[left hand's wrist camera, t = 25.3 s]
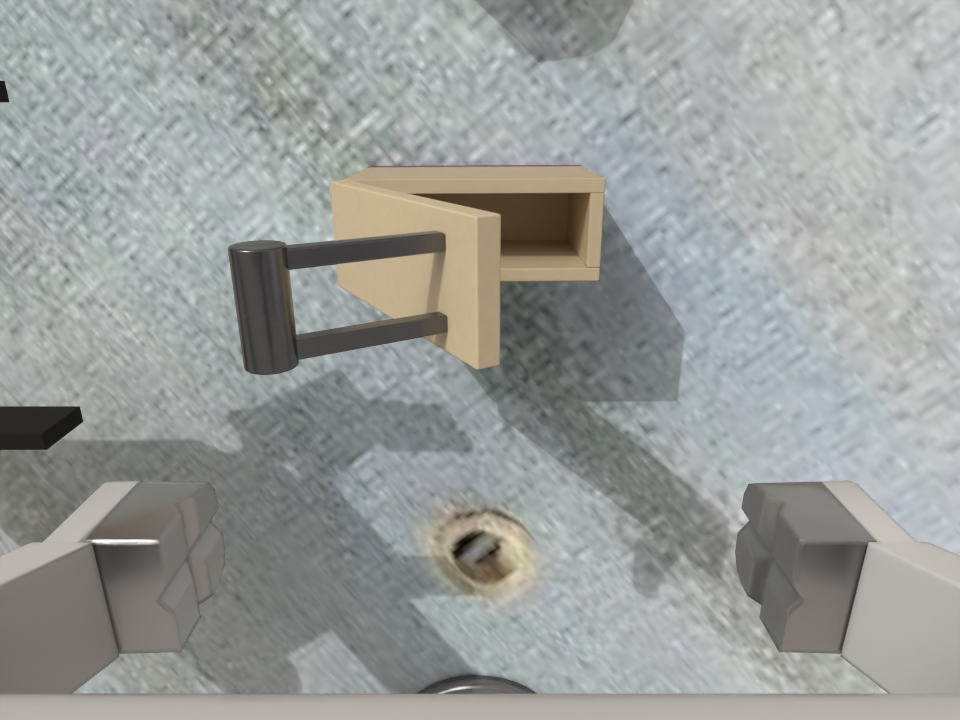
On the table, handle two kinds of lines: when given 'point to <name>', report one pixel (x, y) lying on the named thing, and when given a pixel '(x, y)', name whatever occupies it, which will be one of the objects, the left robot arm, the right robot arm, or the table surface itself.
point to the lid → (378, 280)
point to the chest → (519, 211)
